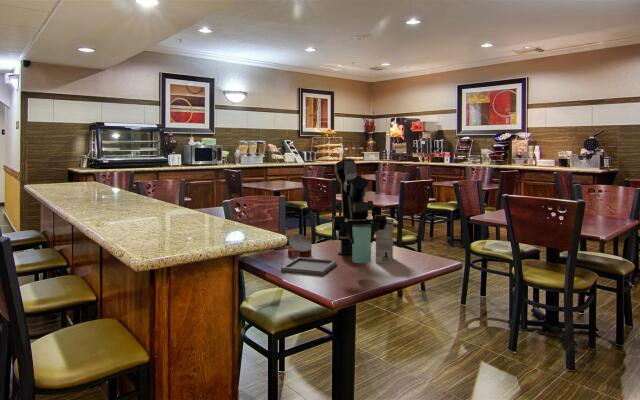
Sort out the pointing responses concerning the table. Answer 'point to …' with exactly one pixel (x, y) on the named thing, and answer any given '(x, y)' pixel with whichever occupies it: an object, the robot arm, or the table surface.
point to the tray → (309, 266)
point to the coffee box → (385, 243)
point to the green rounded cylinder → (361, 244)
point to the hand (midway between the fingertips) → (362, 242)
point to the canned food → (299, 246)
